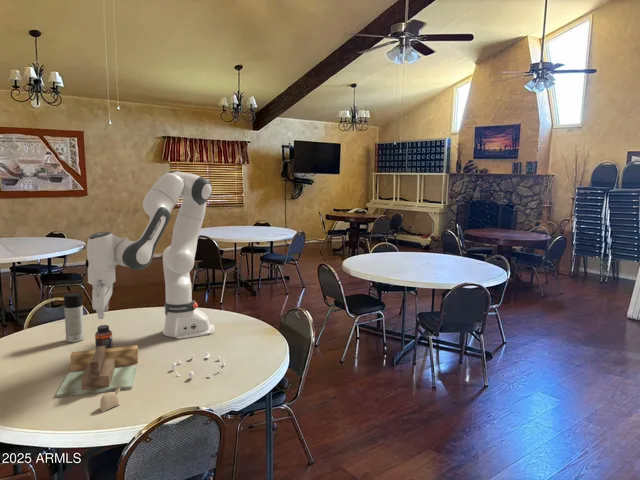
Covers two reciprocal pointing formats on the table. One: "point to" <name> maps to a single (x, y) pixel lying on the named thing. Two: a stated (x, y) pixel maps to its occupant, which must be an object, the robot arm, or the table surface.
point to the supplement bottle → (103, 337)
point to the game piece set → (191, 371)
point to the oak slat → (118, 353)
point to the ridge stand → (98, 377)
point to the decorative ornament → (109, 400)
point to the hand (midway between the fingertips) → (103, 314)
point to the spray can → (73, 317)
